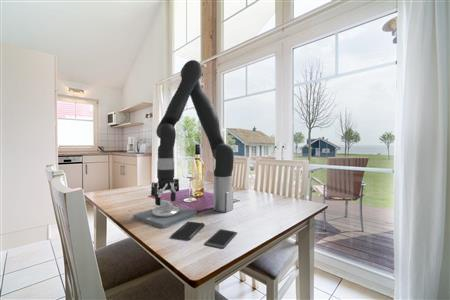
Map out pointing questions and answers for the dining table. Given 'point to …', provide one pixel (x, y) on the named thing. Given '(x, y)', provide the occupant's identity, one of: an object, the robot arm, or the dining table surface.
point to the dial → (165, 209)
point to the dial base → (164, 221)
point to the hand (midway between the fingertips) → (165, 203)
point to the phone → (188, 231)
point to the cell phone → (220, 239)
